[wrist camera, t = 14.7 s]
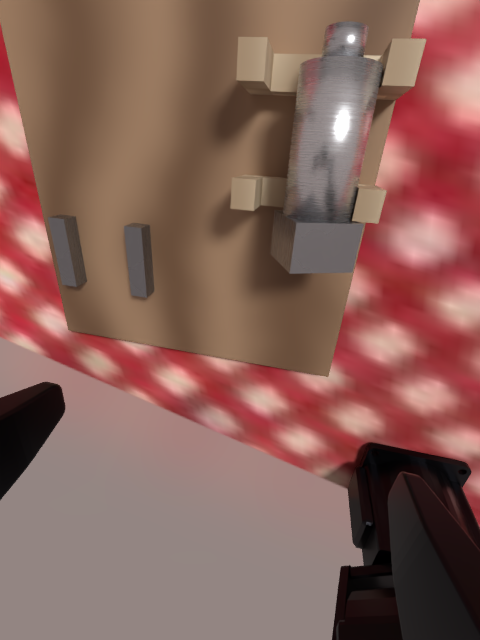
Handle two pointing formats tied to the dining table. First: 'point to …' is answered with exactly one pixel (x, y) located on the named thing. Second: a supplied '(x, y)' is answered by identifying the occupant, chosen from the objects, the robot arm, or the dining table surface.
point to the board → (181, 164)
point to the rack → (282, 79)
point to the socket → (73, 263)
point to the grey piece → (327, 155)
